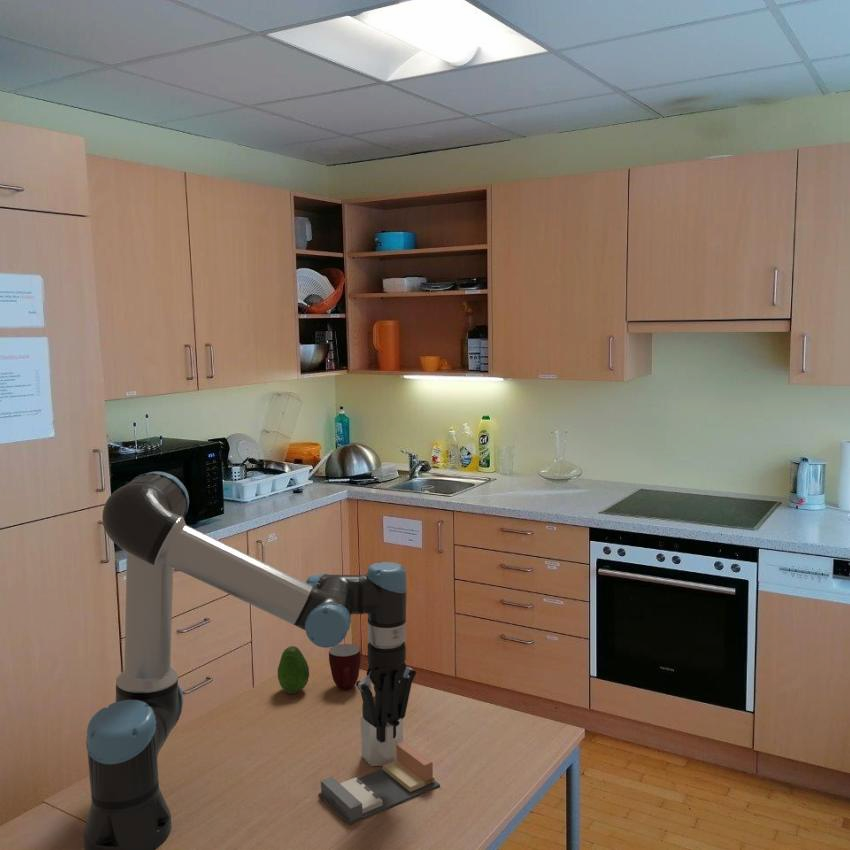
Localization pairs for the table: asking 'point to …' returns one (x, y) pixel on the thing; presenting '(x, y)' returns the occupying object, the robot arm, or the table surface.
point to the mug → (345, 665)
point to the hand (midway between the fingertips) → (386, 754)
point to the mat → (384, 792)
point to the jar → (377, 742)
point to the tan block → (410, 768)
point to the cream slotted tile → (350, 797)
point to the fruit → (293, 670)
